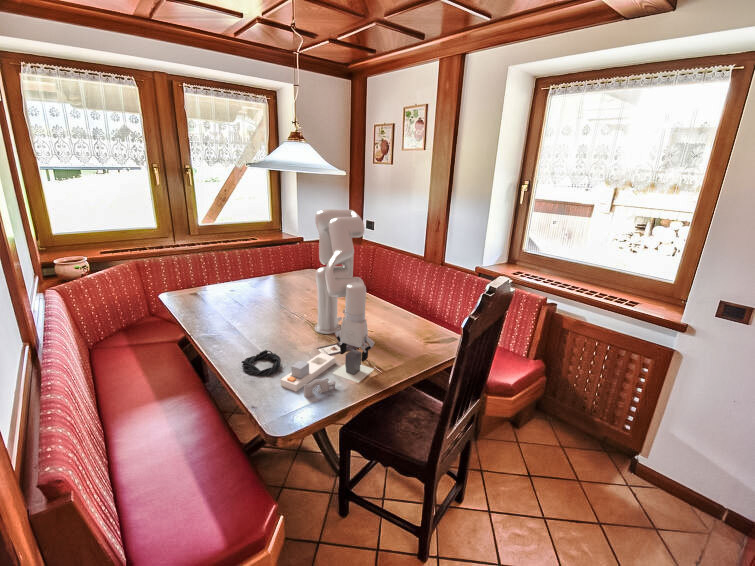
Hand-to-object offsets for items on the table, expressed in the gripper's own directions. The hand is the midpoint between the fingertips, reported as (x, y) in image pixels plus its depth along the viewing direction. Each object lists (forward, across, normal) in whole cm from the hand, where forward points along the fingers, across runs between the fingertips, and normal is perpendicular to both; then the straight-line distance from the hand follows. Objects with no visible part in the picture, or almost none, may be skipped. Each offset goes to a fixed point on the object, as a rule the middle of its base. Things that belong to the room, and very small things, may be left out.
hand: (353, 356), depth 144 cm
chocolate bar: (+8, -16, +13) cm, 22 cm away
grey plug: (+6, -12, -17) cm, 22 cm away
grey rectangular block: (+6, 0, 0) cm, 6 cm away
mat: (+7, 0, 0) cm, 7 cm away
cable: (+7, -32, -17) cm, 37 cm away
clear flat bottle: (+7, -2, -19) cm, 20 cm away
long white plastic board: (+7, -13, -11) cm, 18 cm away
